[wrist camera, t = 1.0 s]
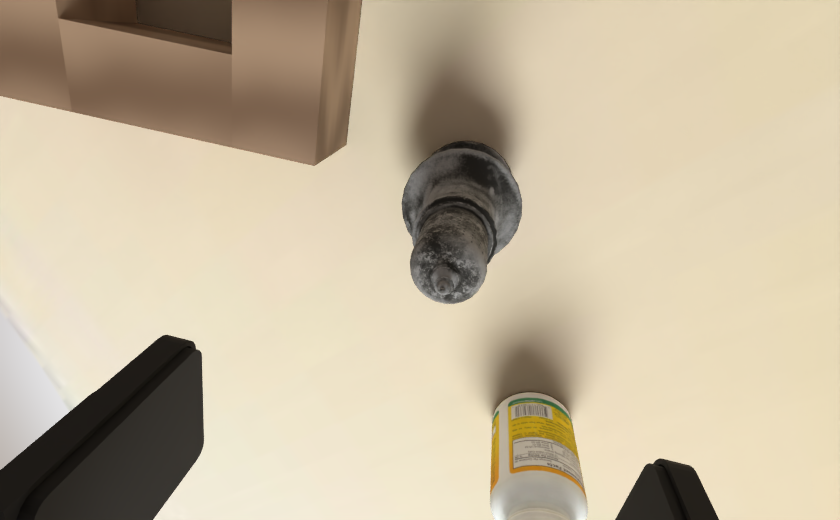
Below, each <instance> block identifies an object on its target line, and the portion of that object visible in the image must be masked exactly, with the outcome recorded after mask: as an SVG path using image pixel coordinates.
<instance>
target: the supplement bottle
mask: <svg viewBox="0 0 840 520" xmlns="http://www.w3.org/2000/svg"><path fill="white" fill-rule="evenodd" d="M490 506H491V511H492V514H493V517H494V519H495V520H587V515H588V506H587V499H586V494H585V489H584V483H583V479H582V473H581V468H580V462H579V457H578V452H577V447H576V442H575V436H574V431H573V425H572V421H571V417H570V415H569V413H568V411H567V409H566V408H565V407H564V406H563V405H562V404H561V403H560V402H558V401H557V400H555V399H554V398H552V397H550V396H548V395H545V394H541V393H535V392H525V393H519V394H515V395H513V396H510V397H508V398H507V399H505V400H504V401H503V402H501V403H500V404H499V406H498V407H497V408H496V410H495V412H494V415H493V421H492V453H491V490H490Z"/></svg>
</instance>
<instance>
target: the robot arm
mask: <svg viewBox="0 0 840 520" xmlns="http://www.w3.org/2000/svg"><path fill="white" fill-rule="evenodd" d="M203 444H204V429H203V388H202V355H201V352H200V351H199V350H196V347H195V344H194V342H192V341H189V340H185V339H181V338H177V337H173V336H169V335H164V336H162V337H160V338H159V339H157V340H156V341H155V342H154V343H153V344H151V345H150V346H149V347H148V348H147V349H146V350H144V351H143V352H142V353H141V354H140V355H138V356H137V357H136V358H135V359H134V360H133V361H131V362H130V363H129V364H128V365H127V366H125V367H124V368H123V369H122V370H121V371H120V372H118V373H117V374H116V375H115V376H114V377H112V378H111V379H110V380H109V381H108V382H107V383H105V384H104V385H103V386H102V387H101V388H99V389H98V390H97V391H95V392H94V393H92V394H91V395H89V396H88V397H87V398H86V399H85V400H83V401H82V402H81V403H80V404H79V405H77V406H76V407H75V408H74V409H73V410H71V411H70V412H69V413H68V414H67V415H65V416H64V417H63V418H62V419H61V420H60V421H58V422H57V423H56V424H55V425H54V426H52V427H51V428H50V429H49V430H48V431H46V432H45V433H44V434H43V435H42V436H41V437H39V438H38V439H37V440H36V441H35V442H33V443H32V444H31V445H30V446H29V447H27V448H26V449H25V450H24V451H23V452H21V453H20V454H19V455H18V456H17V457H16V458H14V459H13V460H12V461H11V462H10V463H8V464H7V465H6V466H5V467H4V468H3V469H1V470H0V520H153V519H154V517H155V516H156V515H157V513H158V512H159V511H160V509H161V508H162V507H163V505H164V504H165V502H166V501H167V500H168V498H169V497H170V496H171V494H172V493H173V492H174V490H175V489H176V488H177V486H178V485H179V483H180V482H181V481H182V479H183V478H184V477H185V475H186V474H187V473H188V471H189V470H190V468H191V467H192V466H193V464H194V463H195V462H196V460H197V459H198V457H199V455H200V453H201V451H202V448H203ZM615 520H719V519H718V517H717V515H716V513H715V510H714V508H713V506H712V504H711V502H710V500H709V498H708V496H707V494H706V492H705V490H704V487H703V485H702V483H701V481H700V479H699V477H698V475H697V473H696V471H695V470H694V468H692V467H691V466H689V465H685V464H681V463H677V462H673V461H669V460H665V459H658V460H656V461H655V462H654V464H647V465H646V466H645V467H644V469H643V471H642V472H641V474H640V476H639V478H638V480H637V481H636V483H635V485H634V487H633V489H632V490H631V492H630V494H629V496H628V498H627V499H626V501H625V503H624V505H623V507H622V508H621V510H620V512H619V514H618V516H617V518H616V519H615Z"/></svg>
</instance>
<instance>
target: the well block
mask: <svg viewBox="0 0 840 520" xmlns="http://www.w3.org/2000/svg"><path fill="white" fill-rule="evenodd" d="M361 5H362V0H232V43H230V42H225V41H221V40H216V39H211V38H206V37H201V36H197V35H192V34H187V33H182V32H178V31H173V30H168V29H163V28H158V27H154V26H149V25H144V24H139V23H138V19H137V7H136V0H0V96H3V97H8V98H12V99H17V100H21V101H26V102H30V103H35V104H39V105H44V106H48V107H53V108H57V109H62V110H66V111H71V112H75V113H80V114H84V115H89V116H93V117H98V118H102V119H106V120H111V121H115V122H120V123H124V124H129V125H133V126H138V127H142V128H147V129H151V130H156V131H160V132H165V133H169V134H174V135H178V136H183V137H187V138H192V139H196V140H201V141H205V142H210V143H214V144H219V145H223V146H228V147H232V148H237V149H241V150H246V151H250V152H255V153H259V154H263V155H268V156H272V157H277V158H281V159H286V160H290V161H295V162H299V163H304V164H308V165H313V166H315V165H316V164H318V163H319V162H321V161H322V160H324V159H326V158H327V157H329V156H330V155H332V154H333V153H335V152H336V151H338V150H339V149H341V148H342V147H344V146H345V145H346V142H347V133H348V124H349V115H350V106H351V97H352V88H353V79H354V69H355V60H356V51H357V42H358V33H359V24H360V15H361Z"/></svg>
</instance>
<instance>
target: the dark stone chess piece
mask: <svg viewBox="0 0 840 520" xmlns="http://www.w3.org/2000/svg"><path fill="white" fill-rule="evenodd" d="M402 211H403V219H404V221H405V224H406V227H407V230H408V232H409V233H410V235H411V236H412V239H413V246H414V249H413V251H412V254H411V259H410V268H411V276H412V278H413V281H414V283H415V285H416V286H417V288H418V289H419V290H420V291H421V292H422V293H423V294H424V295H425V296H426V297H428V298H430V299H432V300H434V301H436V302H440V303H444V304H455V303H459V302H463V301H465V300H467V299H469V298H471V297H472V296H473V295H474V294H475V293H477V292H478V290H479V288H480V287H481V285H482V284H483V282H484V280H485V276H486V273H487V264H488V263H489V262H490V260H491V259H492V257H493V256H494V255H495V254H496V253H498V252H499V251H500V250H502V249H503V248H504V247H505V246H506V245H507V244H508V243H509V242H510V240H511V239H512V237H513V236H514V234H515V233H516V231H517V229H518V226H519V222H520V219H521V216H522V198H521V195H520V191H519V187H518V184H517V182H516V181H515V179H514V177H513V176H512V174H511V171H510V169H509V167H508V165H507V164H506V162H505V160H504V159H503V158H502V157H501V156H500V155H499V154H498V153H497V152H496V151H495V150H493V149H492V148H490V147H488V146H486V145H484V144H481V143H477V142H472V141H460V142H455V143H451V144H448V145H445V146H444V147H442V148H441V149H439V150H437V151H436V152H434V154H433V155H432V156H431V157H430V158H428V159H426V160H425V161H423V162H422V163H421V164H420V165H419V166H418V167H417V168H416V170H415V171H414V172H413V173H412V174H411V176H410V178H409V180H408V182H407V184H406V186H405V188H404V193H403V199H402Z"/></svg>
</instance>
